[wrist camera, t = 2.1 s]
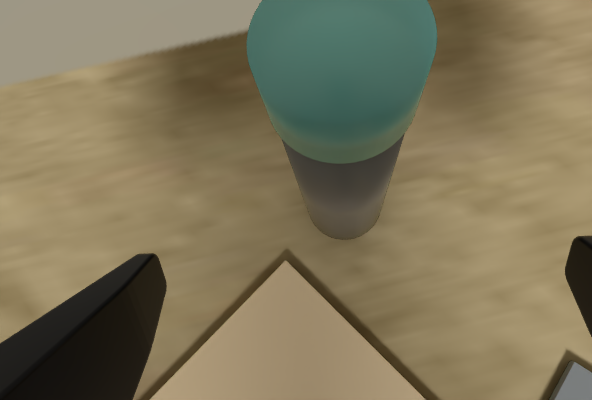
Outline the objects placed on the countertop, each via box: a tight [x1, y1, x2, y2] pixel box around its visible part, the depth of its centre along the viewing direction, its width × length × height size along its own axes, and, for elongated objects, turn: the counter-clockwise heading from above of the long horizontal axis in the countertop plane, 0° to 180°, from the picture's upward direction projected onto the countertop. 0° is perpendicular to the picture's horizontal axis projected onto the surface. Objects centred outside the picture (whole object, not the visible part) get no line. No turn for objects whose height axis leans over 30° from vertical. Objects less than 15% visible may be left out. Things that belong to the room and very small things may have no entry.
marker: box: [247, 0, 437, 239], centre depth 15 cm, size 4×4×13 cm
